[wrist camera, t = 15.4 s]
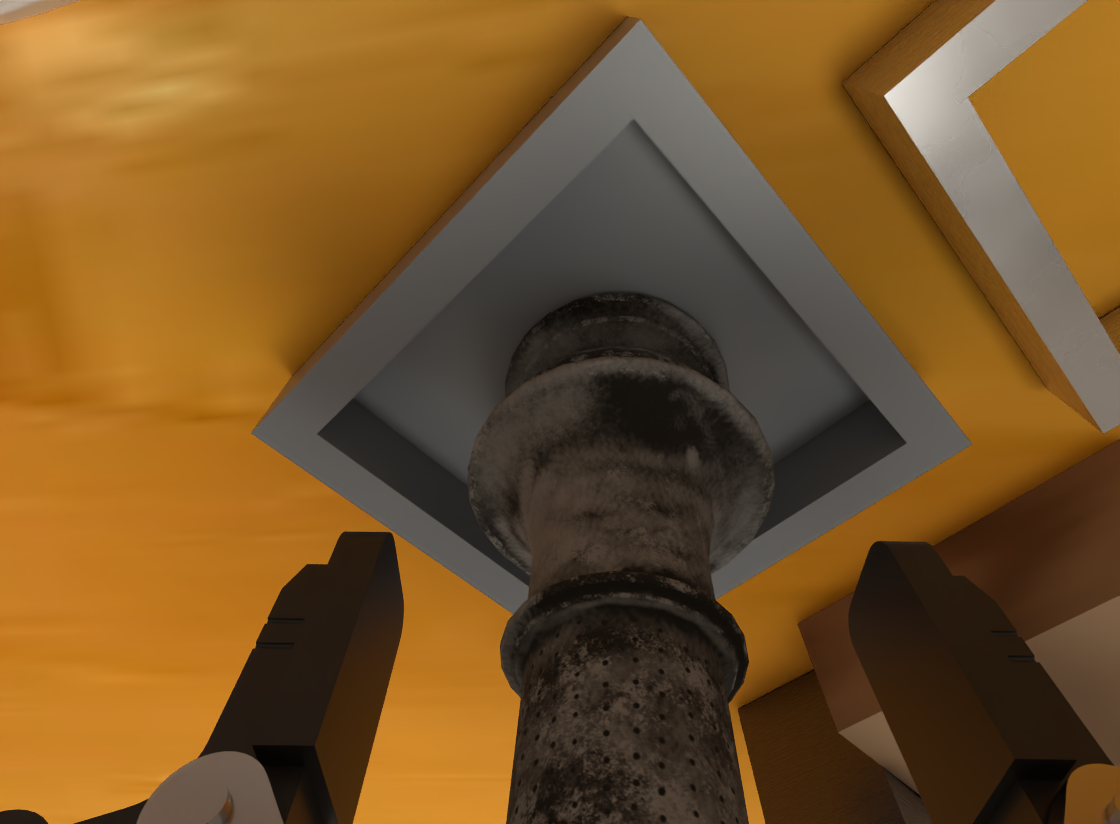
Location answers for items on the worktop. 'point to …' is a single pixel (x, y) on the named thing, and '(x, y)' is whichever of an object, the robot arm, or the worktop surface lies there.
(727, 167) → the tray
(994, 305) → the holder
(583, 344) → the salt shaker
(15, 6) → the plate stack
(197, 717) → the worktop surface
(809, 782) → the block
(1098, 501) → the brown rectangular block
